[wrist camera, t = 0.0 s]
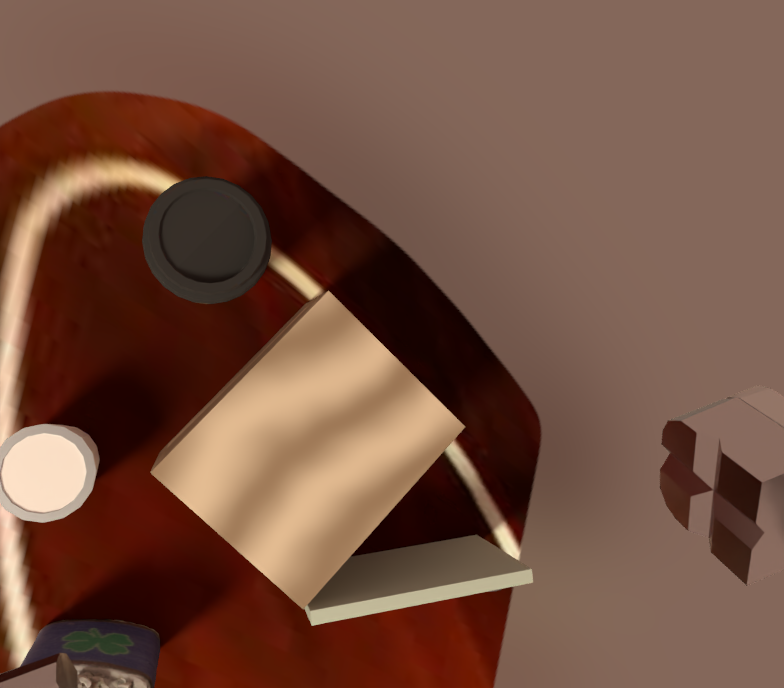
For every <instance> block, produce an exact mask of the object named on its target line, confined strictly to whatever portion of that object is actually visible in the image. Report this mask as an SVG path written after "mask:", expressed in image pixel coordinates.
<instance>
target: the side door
mask: <svg viewBox="0 0 784 688" xmlns="http://www.w3.org/2000/svg"><path fill="white" fill-rule="evenodd" d="M528 583H533V576H532V569H531V568H529V567H528V566H526V565H524V564H523V563H521V562H520V561H518V560H516V559H515V558H513V557H512V556H510V555H508V554H507V553H505V552H504V551H502V550H500V549H499V548H497V547H496V546H494V545H492V544H491V543H489V542H488V541H486V540H484V539H483V538H481V537H479V536H478V535H473V536H467V537H461V538H455V539H450V540H444V541H438V542H432V543H427V544H421V545H415V546H409V547H404V548H398V549H392V550H386V551H381V552H375V553H369V554H363V555H358V556H352V557H349V559H348V560H347V561H346V562H345V563H344V564H343V565H342V566H341V568H340V569H339V570H338V571H337V572H336V573H335V574H334V575H333V577H332V578H331V579H330V580H329V581H328V582H327V583H326V584H325V586H324V587H323V588H322V589H321V590H320V591H319V592H318V593H317V595H316V596H315V597H314V598H313V599H312V600H311V601H310V602H309V604H308V605H307V606H306V607H305V611H306V613H307V615H308V618H309V620H310V623H311V625H317V624H322V623H327V622H332V621H338V620H343V619H348V618H353V617H358V616H363V615H368V614H374V613H379V612H384V611H389V610H394V609H399V608H404V607H410V606H415V605H420V604H425V603H430V602H435V601H440V600H446V599H451V598H456V597H461V596H466V595H471V594H476V593H481V592H487V591H497V590H500V589H502V588H507V587H512V586H517V585H523V584H528Z"/></svg>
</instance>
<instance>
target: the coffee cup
mask: <svg viewBox="0 0 784 688" xmlns="http://www.w3.org/2000/svg"><path fill="white" fill-rule="evenodd" d="M142 242H143V248H144V254H145V258H146V260H147V263H148V265H149V267H150V269H151V271H152V273H153V274H154V276H155V277H156V278H157V279H158V280H159V281H160V283H161V284H162V285H163V286H164V287H165V288H167V289H168V290H170V291H171V292H173V293H174V294H175V295H177V296H179V297H181V298H184V299H187V300H189V301H192V302H196V303H205V304H213V303H220V302H227V301H229V300H232V299H234V298H236V297H239V296H241V295H243V294H244V293H245V292H247V291H248V290H249V289H250V288H252V287H253V286H254V285H255V284H256V283H257V281H258V280H259V279H260V277H261V276H262V275H263V273H264V272H265V269H266V267H267V264H268V261H269V259H270V254H271V243H272V240H271V234H270V228H269V223H268V220H267V218H266V216H265V214H264V212H263V209H262V208H261V206H260V205H259V204H258V203H257V201H256V200H255V199H254V198H253V196H252V195H251V194H249V193H248V192H247V191H245V190H244V189H243V188H241V187H240V186H239V185H236V184H234V183H232V182H229V181H227V180H224V179H220V178H213V177H207V176H206V177H197V178H189V179H186V180H184V181H181V182H179V183H176V184H174V185H172V186H171V187H170V188H168V189H167V190H166V191H164V192H163V193H162V194H161V195H160V196H159V197H158V198H157V200H156V201H155V202H154V204H153V205H152V206H151V208H150V211H149V213H148V216H147V218H146V220H145V224H144V230H143V240H142Z"/></svg>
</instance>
